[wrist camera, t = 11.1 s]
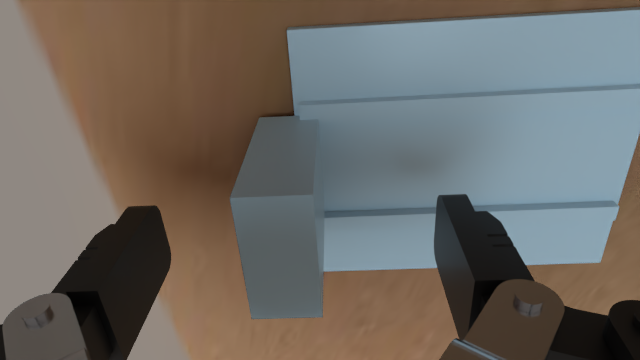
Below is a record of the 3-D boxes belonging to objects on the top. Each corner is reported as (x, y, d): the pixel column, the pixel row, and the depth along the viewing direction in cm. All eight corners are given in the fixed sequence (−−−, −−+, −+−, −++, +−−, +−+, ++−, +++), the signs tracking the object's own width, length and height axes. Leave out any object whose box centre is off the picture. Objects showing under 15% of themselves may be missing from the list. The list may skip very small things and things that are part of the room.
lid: (251, 27, 15) (208, 83, 10) (660, 3, 14) (852, 50, 9) (281, 260, 20) (263, 384, 14) (590, 250, 19) (689, 375, 14)
